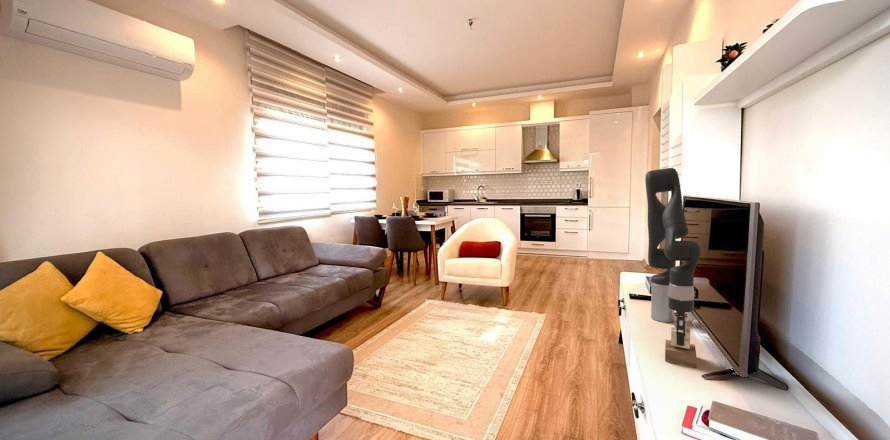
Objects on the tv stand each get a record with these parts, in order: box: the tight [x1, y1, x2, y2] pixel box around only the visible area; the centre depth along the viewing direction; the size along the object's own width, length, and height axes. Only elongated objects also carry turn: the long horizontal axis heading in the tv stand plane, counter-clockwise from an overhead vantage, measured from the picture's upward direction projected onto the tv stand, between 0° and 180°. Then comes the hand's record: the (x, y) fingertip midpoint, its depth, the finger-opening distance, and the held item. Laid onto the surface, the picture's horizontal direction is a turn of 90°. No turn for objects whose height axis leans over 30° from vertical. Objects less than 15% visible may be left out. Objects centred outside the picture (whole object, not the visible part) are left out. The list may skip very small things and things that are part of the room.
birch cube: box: [670, 324, 691, 349], centre depth 124 cm, size 6×6×6 cm
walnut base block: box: [664, 339, 697, 368], centre depth 124 cm, size 9×9×4 cm
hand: (680, 341), depth 124 cm, fingers closed on birch cube, 5 cm apart
